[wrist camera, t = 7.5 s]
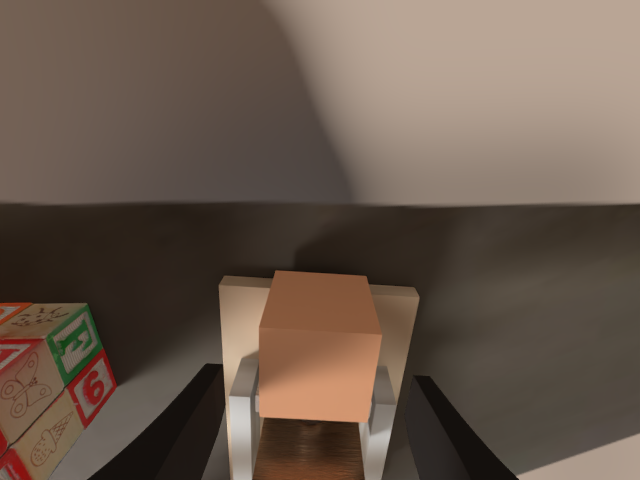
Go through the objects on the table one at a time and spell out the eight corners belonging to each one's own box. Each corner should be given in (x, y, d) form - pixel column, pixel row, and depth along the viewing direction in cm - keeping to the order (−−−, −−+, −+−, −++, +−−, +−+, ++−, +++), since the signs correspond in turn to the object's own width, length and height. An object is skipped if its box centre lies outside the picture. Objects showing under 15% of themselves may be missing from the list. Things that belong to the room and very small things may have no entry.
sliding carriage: (357, 405, 18) (371, 524, 13) (265, 400, 18) (242, 518, 13) (364, 357, 17) (383, 467, 11) (265, 351, 17) (240, 459, 11)
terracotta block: (356, 348, 17) (367, 422, 13) (274, 343, 17) (259, 416, 13) (366, 275, 15) (382, 334, 11) (275, 270, 15) (258, 327, 11)
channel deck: (375, 477, 22) (385, 538, 19) (234, 470, 22) (219, 531, 19) (414, 287, 17) (436, 329, 13) (224, 275, 17) (200, 315, 13)
